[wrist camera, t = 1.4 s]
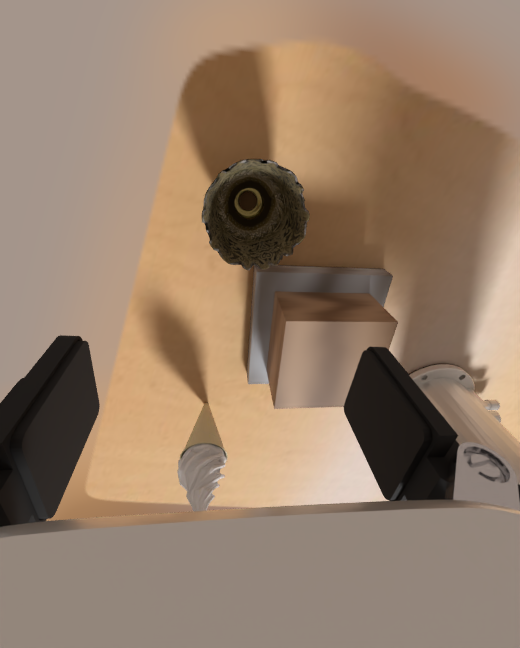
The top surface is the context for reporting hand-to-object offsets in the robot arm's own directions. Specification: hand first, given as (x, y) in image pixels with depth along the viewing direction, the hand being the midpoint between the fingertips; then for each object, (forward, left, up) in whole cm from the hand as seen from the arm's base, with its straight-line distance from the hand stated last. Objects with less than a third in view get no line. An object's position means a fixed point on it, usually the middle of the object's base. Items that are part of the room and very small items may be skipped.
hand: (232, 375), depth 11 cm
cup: (-2, -3, -22) cm, 22 cm away
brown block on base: (-10, +10, -22) cm, 26 cm away
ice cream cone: (+2, +22, -22) cm, 31 cm away
